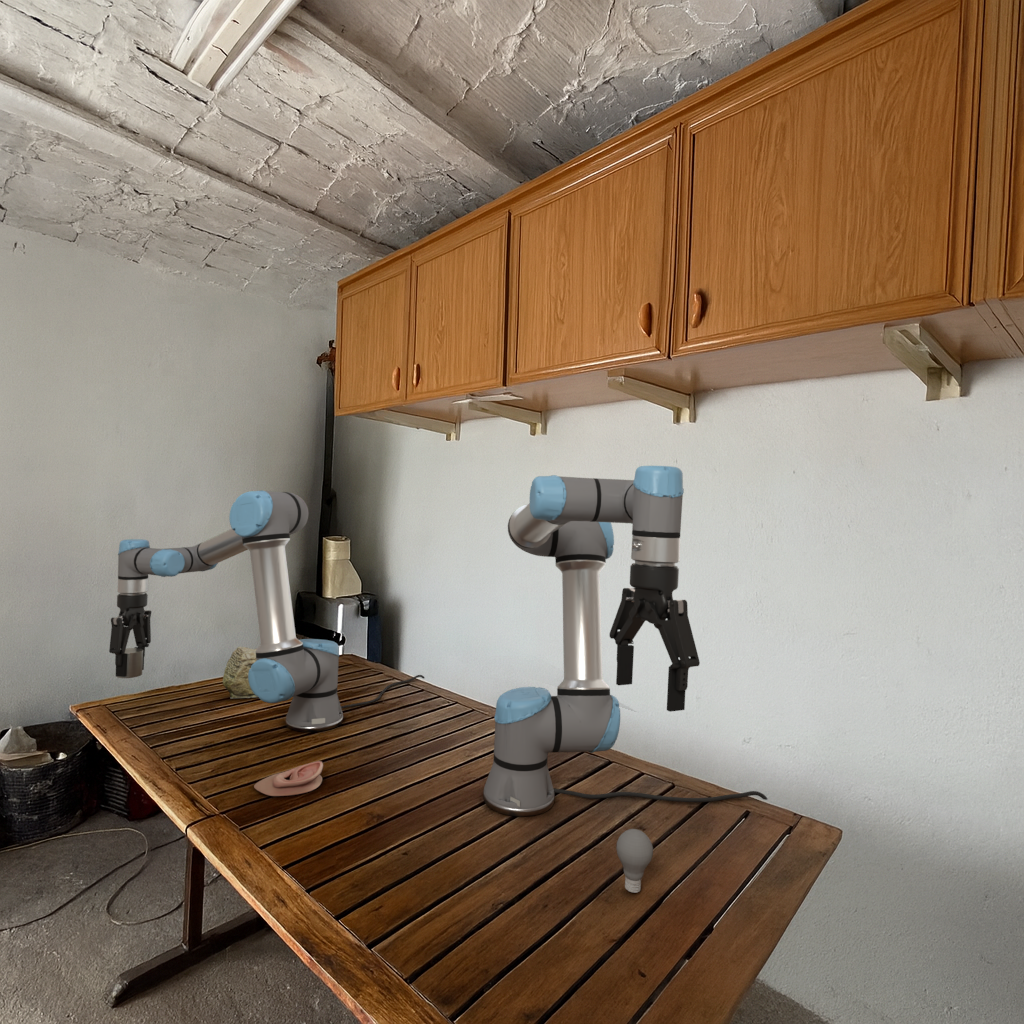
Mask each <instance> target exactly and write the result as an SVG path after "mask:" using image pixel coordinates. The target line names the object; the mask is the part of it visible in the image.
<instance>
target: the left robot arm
mask: <svg viewBox="0 0 1024 1024" xmlns="http://www.w3.org/2000/svg"><path fill="white" fill-rule="evenodd" d="M309 515H310V514H309V507H308V505H307V503H306V502H305V500H304V499H303V498H302V497H300V496H299V495H297V494H296V493H294V492H291V491H290V492H289V491H275V490H274V491H272V490H262V489H261V490H251V491H246V492H243V493H242V494H240V495H238V497H237V498H236V499H235V501H234V502H233V503H232V505H231V507H230V510H229V516H228V517H229V525H230V527H231V528H229V529H227V530H226V531H223V532H221V533H218V534H217V535H215V536H212V537H210V538H208V539H206V540H204V541H202V542H200V543H197V544H196V545H194V546H184V547H170V548H169V547H168V548H154V547H150V541H149V540H147V539H143V538H142V539H141V538H131V539H128V538H127V539H122V540H121V541H120V542H119V546H118V554H117V556H118V557H117V558H118V559H117V593H118V594H117V595H116V607H117V608H119V612H118V616H115V617H111V618H110V625H111V630H110V639H109V640H110V641H109V650H108V651H109V653H110V654H112V655H113V654H114V655H115V658H114V661H115V662H114V665H115V677H116V676H118V677H126V670H127V653H125V650H126V648H127V646H128V642H129V638H130V634H131V631H132V632H133V636H134V641H135V647H134V648H141V649H143V667H142V671H144V670H145V669H144V668H145V656H146V648H149V647H150V644H151V642H152V633H151V632H152V631H151V630H152V629H151V616H152V610H147V609H145V608H146V607H147V606H148V598H149V597H148V593H147V592H148V591H149V575H150V576H158V577H161V578H167V577H176V576H178V575H179V574H185V573H195V572H196V573H197V572H207V571H211V570H213V569H215V568H216V567H217V566H218V564H219V563H221V562H223V561H225V560H228V559H231V558H232V557H234V556H236V555H240V554H241V553H243V552H246V551H249V556H250V563H251V572H252V580H253V588H254V597H255V605H256V613H257V623H258V631H259V638H260V644H259V646H258V647H257V648H256V649H257V650H256V651H255V652H256V662H255V663H253V664H252V666H251V669H250V670H249V673H248V681H249V685H250V687H251V690H252V691H253V693H254V694H255V695H256V696H258V697H257V698H258V699H259V700H260V701H261V702H264V703H266V704H277V703H280V702H286V701H288V700H291V702H290V704H289V708H288V711H287V713H286V715H285V726H286V728H287V729H289V730H291V731H294V732H295V731H296V732H301V733H316V732H325V731H329V730H332V729H335V728H337V727H339V726H340V725H342V723H343V722H344V714H343V709H349V708H353V707H358V706H365V705H368V704H372V703H375V702H377V701H379V700H380V699H381V697H382V696H383V694H384V693H386V691H387V690H388V689H390V688H392V687H393V686H398V685H401V684H406V683H409V682H412V681H414V680H415V679H417V678H422V679H426V677H425V676H424V675H422V674H417V675H414V676H413V677H411V678H409V679H405V680H401V681H396V682H394V683H391V684H388V685H387V686H386V687H384V688H383V690H382V691H380V693H379V694H378V696H377V697H376V698H374V699H370V700H367V701H363V702H362V701H361V702H356V703H351V704H346V705H341V702H340V699H339V695H338V682H339V662H340V661H339V660H340V659H339V657H340V652H339V651H340V650H339V648H340V646H339V644H338V643H337V642H335V641H334V640H328V639H320V638H303V639H299V638H297V636H296V635H297V634H296V627H295V626H296V625H295V619H294V611H293V601H292V595H291V586H290V579H289V578H290V577H289V571H288V563H287V553H286V545H287V544H288V543H289V542H290V541H291V535H294V534H296V533H298V532H300V531H301V530H302V529H304V527H305V526H306V524H307V523H308V521H309ZM118 677H117V678H118Z"/></svg>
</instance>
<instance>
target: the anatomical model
mask: <svg viewBox="0 0 1024 1024" xmlns="http://www.w3.org/2000/svg"><path fill="white" fill-rule="evenodd" d="M323 768H324V763H323V761H321V760H318V761H312V762H309V763H306V764H303V765H299V766H297V767H294V768H291V769H288V770H286V771H283V772H278V773H275V774H272V775H269V776H267V777H265V778H263V779H260V780H259V781H257V782H256V783H255V784H254V785H253V788H254V789H255V790H256V791H257V792H259V793H261V794H264V795H266V796H268V797H269V796H270V797H284V796H295V795H301V794H305V793H308V792H312V791H315V790H316V789H317V788H319V787H320V786H321V784H322V783H323V777H322V775H321V774H322V771H323Z"/></svg>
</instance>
